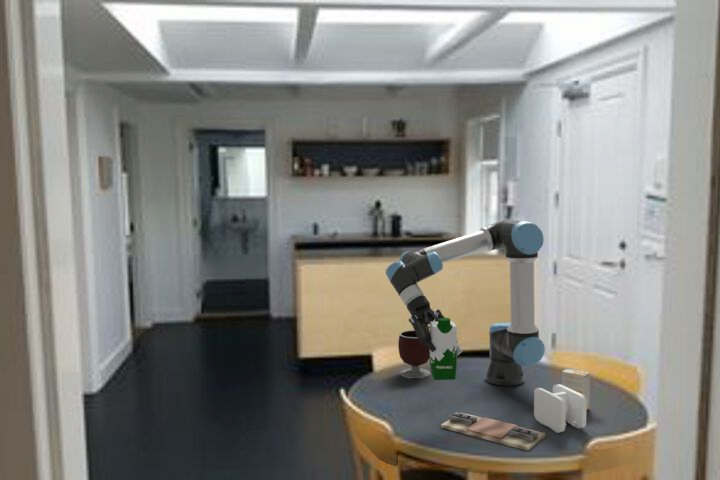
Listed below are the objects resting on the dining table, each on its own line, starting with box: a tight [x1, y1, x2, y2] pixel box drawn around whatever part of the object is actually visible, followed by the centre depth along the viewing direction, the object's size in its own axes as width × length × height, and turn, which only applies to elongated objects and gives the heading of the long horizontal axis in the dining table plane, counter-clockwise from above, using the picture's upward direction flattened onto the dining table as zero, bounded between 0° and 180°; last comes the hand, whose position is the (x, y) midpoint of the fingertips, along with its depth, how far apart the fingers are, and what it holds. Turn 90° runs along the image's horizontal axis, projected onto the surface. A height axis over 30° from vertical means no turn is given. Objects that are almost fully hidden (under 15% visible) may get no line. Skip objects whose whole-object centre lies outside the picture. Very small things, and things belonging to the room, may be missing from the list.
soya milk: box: [429, 317, 458, 381], centre depth 209 cm, size 9×9×20 cm
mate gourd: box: [397, 324, 431, 379], centre depth 262 cm, size 16×14×20 cm
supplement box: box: [561, 368, 591, 412], centre depth 220 cm, size 8×5×13 cm, turn 45°
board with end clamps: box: [440, 411, 546, 452], centre depth 202 cm, size 30×13×3 cm, turn 51°
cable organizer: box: [533, 383, 587, 434], centre depth 206 cm, size 15×11×12 cm
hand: (450, 355), depth 207 cm, fingers closed on soya milk, 9 cm apart
